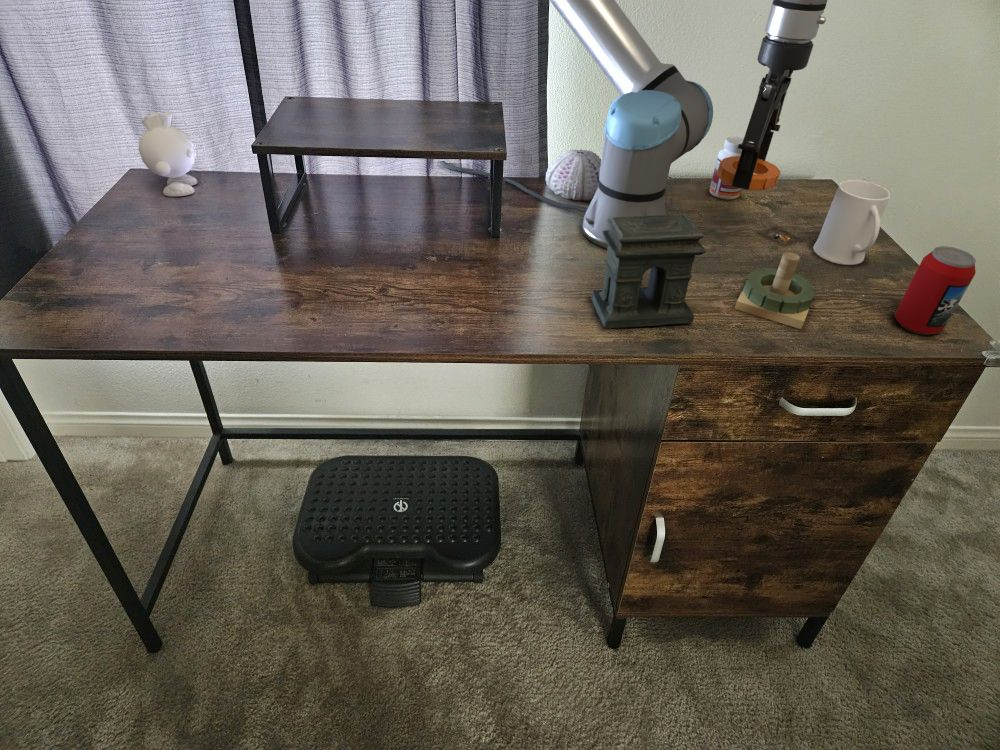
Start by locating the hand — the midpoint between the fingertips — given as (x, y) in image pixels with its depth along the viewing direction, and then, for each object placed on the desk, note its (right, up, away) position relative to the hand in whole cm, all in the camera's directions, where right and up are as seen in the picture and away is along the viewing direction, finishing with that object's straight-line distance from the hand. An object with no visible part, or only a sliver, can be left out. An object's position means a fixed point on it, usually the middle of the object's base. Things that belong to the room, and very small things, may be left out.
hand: (747, 176), depth 114 cm
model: (-22, -25, -15) cm, 37 cm away
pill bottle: (+3, +2, +20) cm, 20 cm away
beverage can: (+20, -27, -15) cm, 37 cm away
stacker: (0, -24, -12) cm, 26 cm away
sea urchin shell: (-28, +3, +19) cm, 34 cm away
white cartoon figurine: (-106, +1, +12) cm, 107 cm away
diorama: (+8, -10, +6) cm, 14 cm away
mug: (+17, -14, +1) cm, 22 cm away
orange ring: (0, 0, 0) cm, 0 cm away
